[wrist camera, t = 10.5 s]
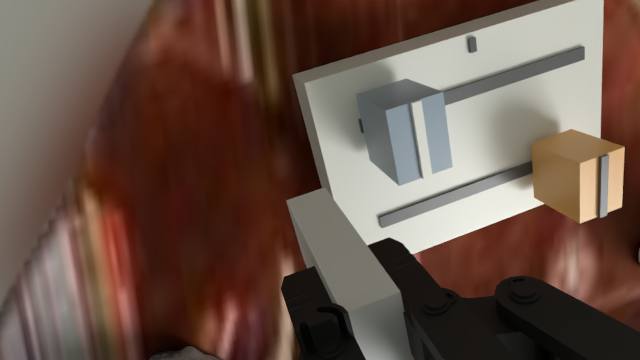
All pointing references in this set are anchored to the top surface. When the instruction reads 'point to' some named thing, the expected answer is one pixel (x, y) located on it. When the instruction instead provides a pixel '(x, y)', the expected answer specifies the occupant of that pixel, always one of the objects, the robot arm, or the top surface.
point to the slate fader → (406, 130)
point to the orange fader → (578, 174)
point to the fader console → (460, 117)
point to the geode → (183, 355)
